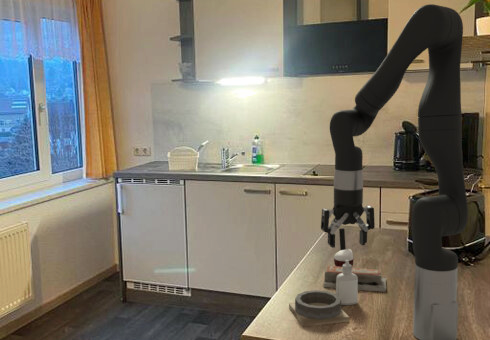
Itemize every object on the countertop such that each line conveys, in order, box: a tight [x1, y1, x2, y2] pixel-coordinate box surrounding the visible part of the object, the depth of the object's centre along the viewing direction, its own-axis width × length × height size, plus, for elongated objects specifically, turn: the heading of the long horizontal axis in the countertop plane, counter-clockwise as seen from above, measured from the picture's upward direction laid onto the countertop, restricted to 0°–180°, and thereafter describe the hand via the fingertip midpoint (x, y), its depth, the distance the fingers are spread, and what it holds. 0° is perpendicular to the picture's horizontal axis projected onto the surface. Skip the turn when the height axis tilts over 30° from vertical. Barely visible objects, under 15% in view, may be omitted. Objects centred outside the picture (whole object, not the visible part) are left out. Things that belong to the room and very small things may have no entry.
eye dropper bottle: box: [335, 260, 359, 306], centre depth 144 cm, size 4×6×12 cm
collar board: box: [288, 289, 350, 328], centre depth 137 cm, size 12×12×4 cm
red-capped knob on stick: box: [333, 227, 355, 267], centre depth 171 cm, size 10×6×12 cm, turn 156°
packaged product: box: [322, 265, 387, 293], centre depth 158 cm, size 18×5×10 cm
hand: (347, 245), depth 142 cm, fingers open, 8 cm apart
